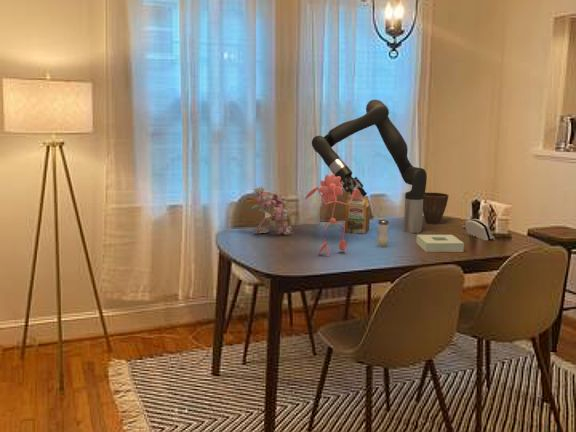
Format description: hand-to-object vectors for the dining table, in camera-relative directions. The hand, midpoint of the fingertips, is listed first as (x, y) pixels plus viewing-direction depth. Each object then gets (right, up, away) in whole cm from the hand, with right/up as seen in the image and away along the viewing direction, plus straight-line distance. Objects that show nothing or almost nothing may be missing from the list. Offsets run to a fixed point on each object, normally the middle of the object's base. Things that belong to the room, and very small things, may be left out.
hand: (361, 196), depth 276 cm
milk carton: (+1, -17, +28) cm, 33 cm away
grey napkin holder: (+61, -20, +20) cm, 67 cm away
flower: (-40, -18, +21) cm, 49 cm away
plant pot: (+46, -13, +53) cm, 71 cm away
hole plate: (+36, -24, -3) cm, 43 cm away
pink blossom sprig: (-16, -25, -14) cm, 33 cm away
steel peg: (+9, -23, -2) cm, 25 cm away
